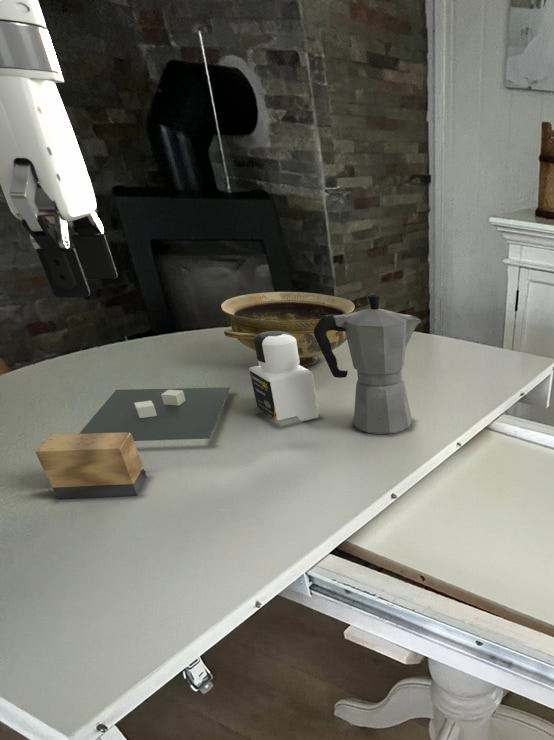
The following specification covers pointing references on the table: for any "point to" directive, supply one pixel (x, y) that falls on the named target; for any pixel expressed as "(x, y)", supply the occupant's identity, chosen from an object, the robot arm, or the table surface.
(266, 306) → the ceramic bowl
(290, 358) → the medicine bottle
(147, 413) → the chalk lump
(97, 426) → the slate board
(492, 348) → the table surface
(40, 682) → the table surface
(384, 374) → the coffeepot
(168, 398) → the chalk lump
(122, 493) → the eraser
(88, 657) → the table surface
